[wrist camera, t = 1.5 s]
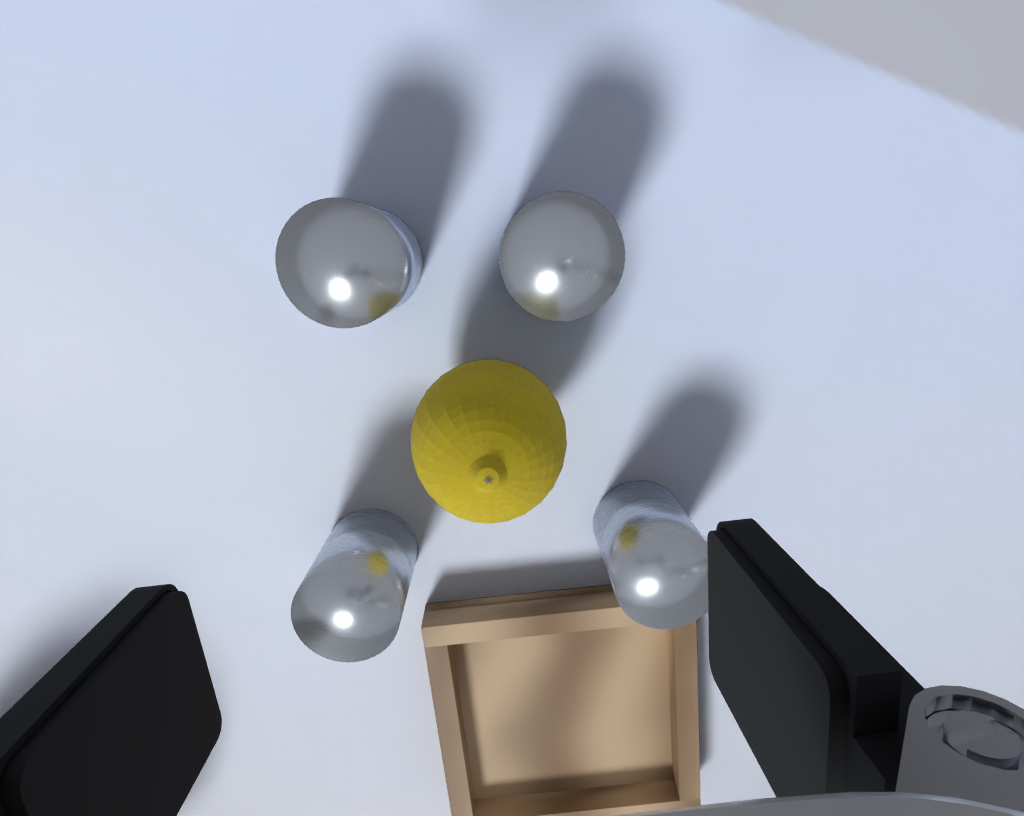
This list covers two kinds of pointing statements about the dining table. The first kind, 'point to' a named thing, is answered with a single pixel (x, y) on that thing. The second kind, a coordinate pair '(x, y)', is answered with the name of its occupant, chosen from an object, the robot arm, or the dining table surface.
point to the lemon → (488, 441)
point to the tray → (562, 706)
